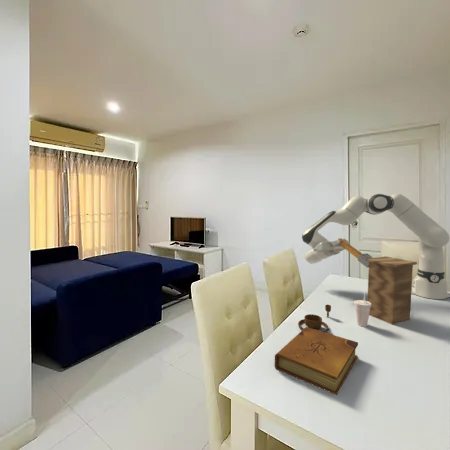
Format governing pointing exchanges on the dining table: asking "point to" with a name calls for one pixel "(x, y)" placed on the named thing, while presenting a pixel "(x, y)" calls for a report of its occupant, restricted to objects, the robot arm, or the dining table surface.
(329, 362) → the diary
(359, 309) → the smoothie
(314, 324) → the place setting
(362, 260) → the mallet
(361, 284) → the dining table surface
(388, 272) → the stand
